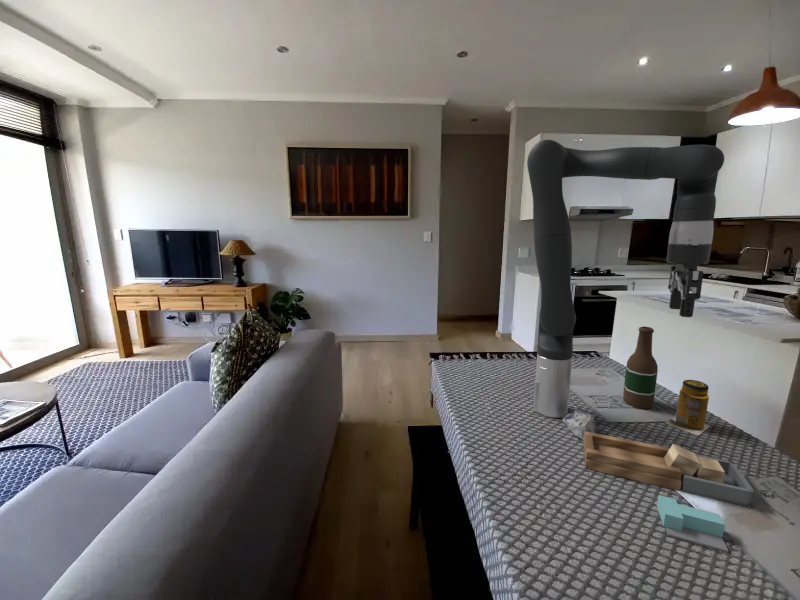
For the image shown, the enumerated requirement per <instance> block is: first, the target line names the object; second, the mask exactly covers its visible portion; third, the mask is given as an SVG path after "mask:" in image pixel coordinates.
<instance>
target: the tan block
mask: <svg viewBox="0 0 800 600" xmlns="http://www.w3.org/2000/svg"><path fill="white" fill-rule="evenodd" d="M696 457H697V459H698V460H699V462H700V464H701V465H700V466H699V467H698V469H697V470H696V472H695V473H694V475H693V477H696V478H700V479H705V480H709V481H714V482H719V483H723V480H724V475H725V471H724V470H723V468H722V467H721V465H720V464H719V462H718V461H717V460H713V459H708V458H703V457H698V456H696Z"/></svg>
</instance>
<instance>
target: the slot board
mask: <svg viewBox="0 0 800 600" xmlns="http://www.w3.org/2000/svg"><path fill="white" fill-rule="evenodd" d="M582 443H583V444H582V445H583V446H582V447H583V456H584V457H583V458H584V468H585V469H587V470H590V471H595V472H600V473H602V474H608V475H610V476H611V475H612V476H615V477H616V476H617V477H620V478H625V479H628V480H629V479H630V480H632V481H638V482H642V483H646V484H650V485H653V486H659V487H662V488H667V489H671V490H676V491H681V474H682V472H681V470H680V468H677V467H672V466H668V465H667V464H666V461H665V459H664V457H665V455H666V454H667V452H668V451H669V449H670V448H671V447H666V446H661V445H657V444H653V443H646V442H641V441H637V440H631V439H626V438H621V437H616V436H611V435H607V434H606V435H605V434H600V433H596V432H595V433H591V432H586V431H585V433H584V442H583V441H582Z"/></svg>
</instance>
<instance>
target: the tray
mask: <svg viewBox="0 0 800 600" xmlns="http://www.w3.org/2000/svg"><path fill="white" fill-rule="evenodd" d="M695 455H696V456H698V457H703V458H708V459H713V460H717V461H718V462H719V464H720V465H721V467H722V468H723V470H724V471H725V475H724V480H723V483H719V482H714V481H709V480H705V479H700V478H696V477H693V476H692V477H691V476H687V475H681V487H680V490H681V491H682V492H684V493H688V494H691V495H696V496H701V497H705V498H709V499H714V500H717V501H722V502H726V503H731V504H736V505H738V504H742V505H741V506H743V505H746V506H745V507H747V506H750V507H749V508H751V507H753V508H754V505H755V499H756V492H755V490H754V488H753V487H752V486H751V485H750V483H749V482H748V481H747V479H746V478H745V476H744V475H743V473H742V472H741V471H740V469H739V468H738V467H737V465H736V464H735V462H734V461H731V460H726V459H720V458H716V457H710V456H705V455H701V454H696V453H695Z"/></svg>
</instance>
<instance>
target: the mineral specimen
mask: <svg viewBox="0 0 800 600" xmlns="http://www.w3.org/2000/svg"><path fill="white" fill-rule="evenodd" d="M562 422H563V424H564V425H565V427H566V429H567V430H569V431H570V432H571V433H572V434H573V435H574V436H575V437H576V438H579V440H581V441H582V443H583V442H584V433H585V431H586V432H591V433H596V422H595V416H594V415H593V414H591V413H588V412H586V411H583V410H578V409H576V410H574V411H572V412H570V413H569V412H568V414H567V415H566V416H565V417H562Z"/></svg>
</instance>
